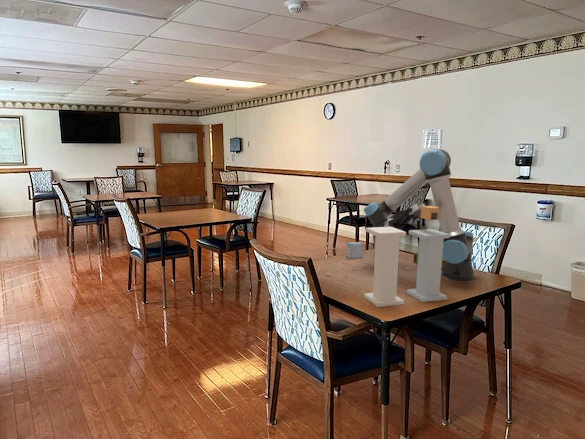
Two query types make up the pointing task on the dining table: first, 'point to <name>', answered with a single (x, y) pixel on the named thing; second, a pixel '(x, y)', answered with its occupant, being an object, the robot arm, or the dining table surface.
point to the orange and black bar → (428, 212)
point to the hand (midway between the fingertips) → (420, 206)
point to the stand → (385, 266)
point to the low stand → (429, 265)
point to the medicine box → (354, 250)
